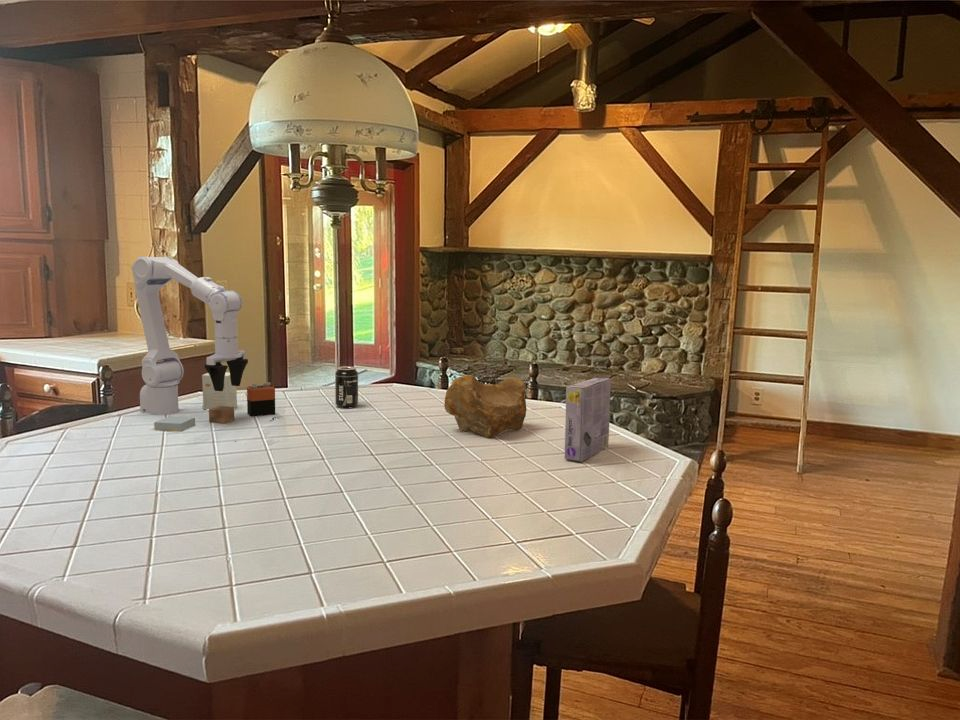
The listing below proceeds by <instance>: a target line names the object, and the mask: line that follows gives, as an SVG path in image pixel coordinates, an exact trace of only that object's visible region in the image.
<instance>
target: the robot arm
mask: <svg viewBox="0 0 960 720" xmlns="http://www.w3.org/2000/svg"><path fill="white" fill-rule="evenodd" d="M179 263H180V262H179V261H178V260H176V259H173V258H172V256H144V255H143V256H138V257H137V258H136V259H135V261H134V263H132V266H131V272H132V277H133V280H134V291H135V295H136V300H137V304H138V310H139V315H140V319H141V324H142V329H143V333H144V336H145V341H146V346H147V351H148V352H147V353H146V354H145V356H144V357H143V358H142V359H141V366H142V367H141V368H142V369H141V378H142V380H143V382H144V383H145V384H144V385H143V386H142V387H141V389H140V391H139V406H140V410H139V411H140V413H141V414H142V413H143V414H152V415H157V416H158V415H160V416H161V415H171V414H177V413H178V412H180V411H179V390H178V389H179V388H178V387H179V386H178V384H180V381H181V380H182V379H183V377H184V372H185V371H184V366H183V364H182V362H181V360H180V358H179V354H178V353H177V352H175V351H174V350H173V349H172V348H170V342H169V339H168V338H169V337H168V334H167V333H168V332H167V330H166V329H167V328H166V324H165V320H164V316H163V315H164V314H163V310H162V306H161V301H160V296H159V292H160V291H161V289H163V288H164V287H165V286H166V285H167V284H168V283H169V282H171V281H172V280H174V281H176V282H177V283H179V284H181V285H183V286H185V287H187V288H189V289H190V292H191V294H192V296H193V297H195V298H196V299H198V300H200V301H201V302H203V303H204V304H206V305H208V308H209V310H210V311H211V314H212V319H213V322H214V327H213V328H214V351H215V352H214V353H213V354H212V355H209V356H207V357H206V363H204V369H205V370H206V372H207V373H209V375H210V377H211V380H212V383H213V387H214V390H215V391H223V388H224V377H225V373H226V372H227V369H228V370H229V371H228V372H229V373H230V379H231V385H232V386H236V387H240V386H241V382H242V378H243V374H244V371H245V369H246V366H247V365H248V363H249V359H248V358H246V357H247V356H246V350H241V349H240V350H239V328H238V327H239V326H238V324H239V323H238V312H239V311H240V310H242V309H241V308H242V306H243V299H242V297H241V295H240V294H239V293H238V292H237V291H236V290H226V289H225V287H224V286H223V285H219V284H218V283H216V282H214V281H212V279H213V278H211V277H209V276H202V277H198V276H196V275H195V274H193V273H192V272H190V271H189V270H188V269H187V268H185V267H183V266H182V265H181V264H179ZM222 363H226V364H227V365H223V364H222Z"/></svg>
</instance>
